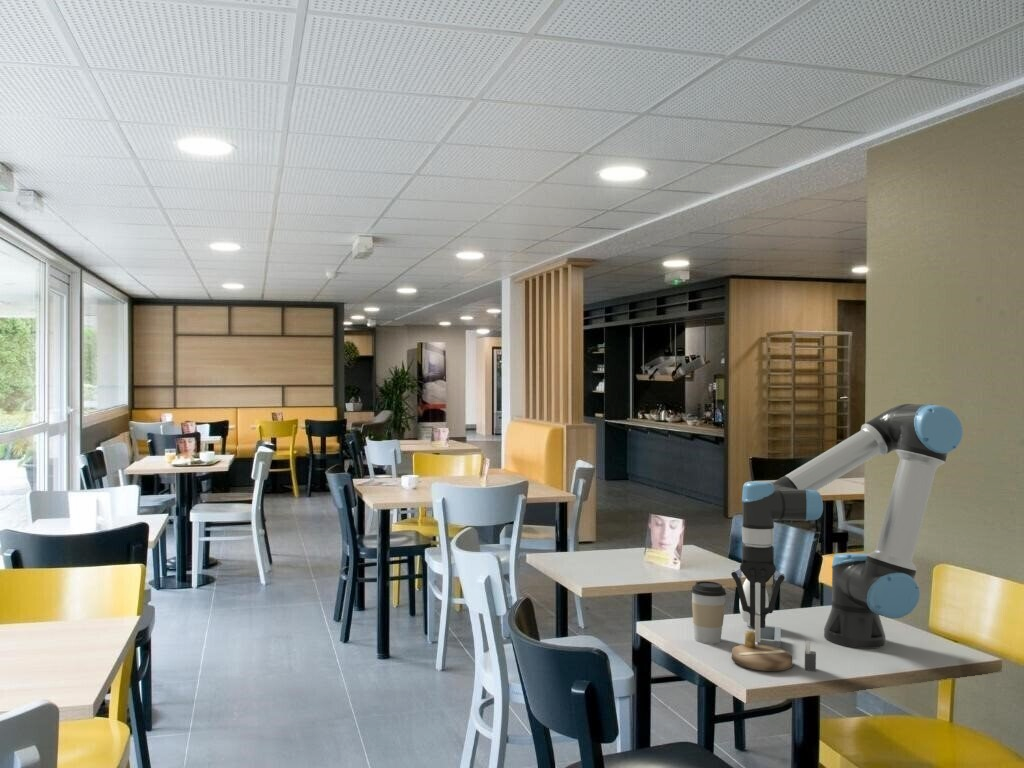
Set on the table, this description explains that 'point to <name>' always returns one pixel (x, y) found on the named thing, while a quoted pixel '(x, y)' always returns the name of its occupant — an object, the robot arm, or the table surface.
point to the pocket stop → (770, 636)
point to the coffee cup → (708, 611)
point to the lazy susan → (760, 655)
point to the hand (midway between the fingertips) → (757, 640)
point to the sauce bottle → (746, 588)
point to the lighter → (810, 658)
